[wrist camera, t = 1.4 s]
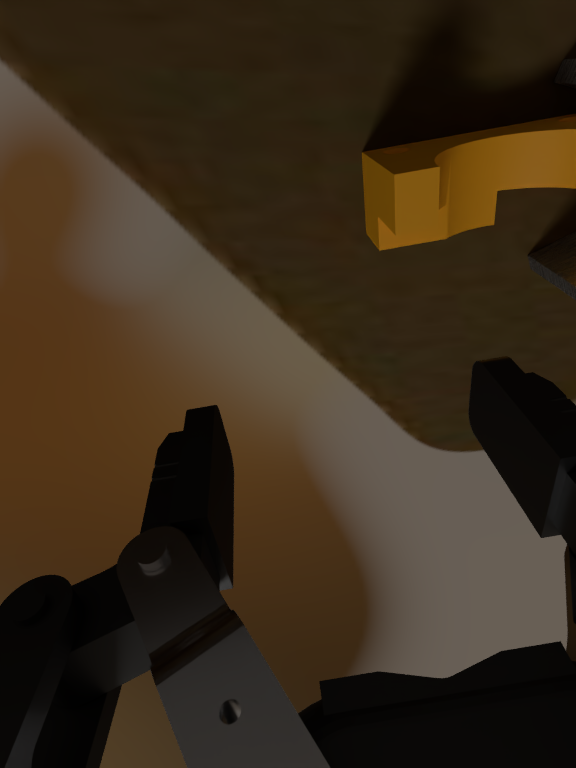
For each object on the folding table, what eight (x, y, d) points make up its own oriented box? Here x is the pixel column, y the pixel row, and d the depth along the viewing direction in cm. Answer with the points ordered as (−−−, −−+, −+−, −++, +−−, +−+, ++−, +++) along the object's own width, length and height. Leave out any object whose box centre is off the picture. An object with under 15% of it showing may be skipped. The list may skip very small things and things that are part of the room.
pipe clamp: (365, 232, 28) (396, 272, 22) (361, 151, 25) (394, 174, 20) (569, 196, 27) (649, 227, 22) (585, 111, 25) (679, 123, 20)
